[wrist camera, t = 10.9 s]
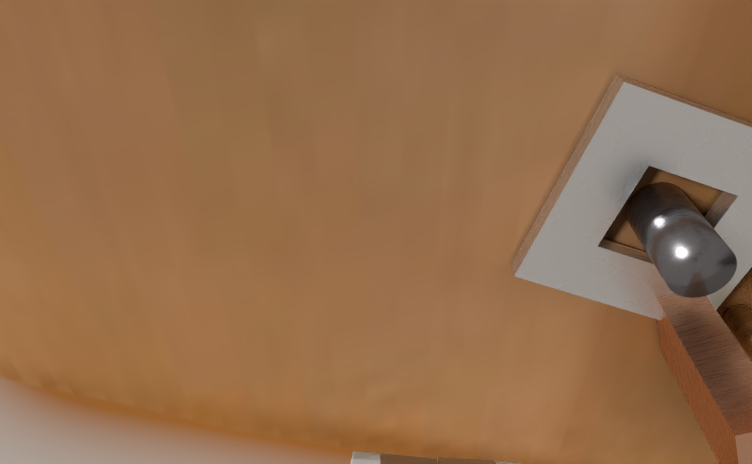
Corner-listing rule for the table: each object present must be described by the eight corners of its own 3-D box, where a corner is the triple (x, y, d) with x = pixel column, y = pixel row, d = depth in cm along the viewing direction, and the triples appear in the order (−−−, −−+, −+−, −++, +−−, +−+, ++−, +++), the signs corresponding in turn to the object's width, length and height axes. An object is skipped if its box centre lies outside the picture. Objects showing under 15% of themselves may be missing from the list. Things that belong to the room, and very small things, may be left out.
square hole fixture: (616, 74, 29) (715, 174, 20) (858, 161, 31) (1053, 290, 22) (488, 304, 37) (516, 454, 28) (688, 362, 39) (777, 522, 29)
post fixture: (705, 161, 32) (763, 218, 27) (753, 319, 37) (808, 392, 32) (618, 197, 33) (657, 258, 28) (676, 344, 38) (717, 418, 33)
